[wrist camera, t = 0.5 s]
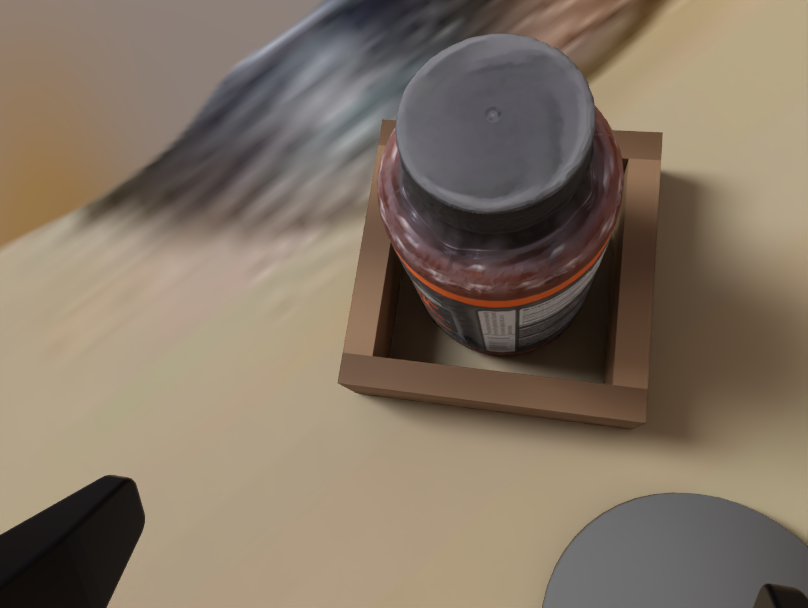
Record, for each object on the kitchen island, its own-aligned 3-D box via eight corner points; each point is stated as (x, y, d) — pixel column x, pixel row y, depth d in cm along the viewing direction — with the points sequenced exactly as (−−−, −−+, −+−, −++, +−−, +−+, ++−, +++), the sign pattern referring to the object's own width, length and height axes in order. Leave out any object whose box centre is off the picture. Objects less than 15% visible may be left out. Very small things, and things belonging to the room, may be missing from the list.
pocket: (631, 428, 22) (645, 422, 19) (355, 392, 23) (337, 382, 21) (647, 167, 24) (662, 132, 21) (395, 153, 26) (382, 119, 23)
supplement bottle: (396, 245, 25) (303, 63, 14) (540, 177, 24) (558, -62, 14) (463, 388, 23) (415, 307, 12) (619, 316, 23) (713, 168, 12)
